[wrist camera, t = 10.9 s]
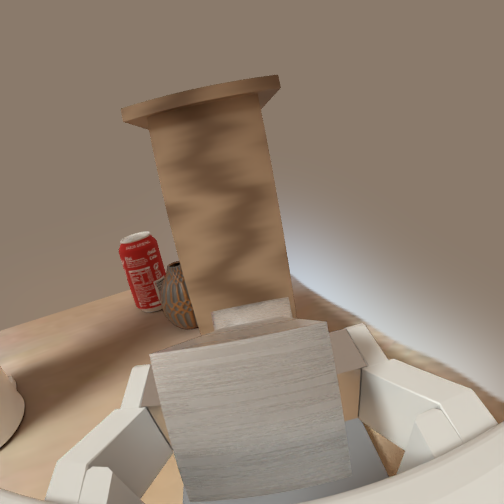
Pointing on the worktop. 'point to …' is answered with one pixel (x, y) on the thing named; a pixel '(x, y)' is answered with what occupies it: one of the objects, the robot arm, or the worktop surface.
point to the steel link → (253, 404)
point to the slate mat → (363, 473)
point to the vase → (177, 298)
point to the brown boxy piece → (220, 193)
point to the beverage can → (143, 269)
